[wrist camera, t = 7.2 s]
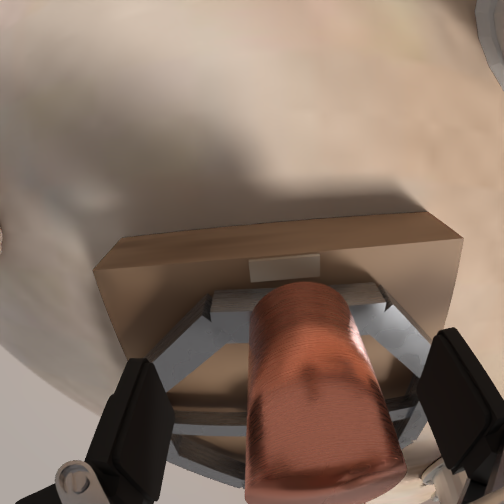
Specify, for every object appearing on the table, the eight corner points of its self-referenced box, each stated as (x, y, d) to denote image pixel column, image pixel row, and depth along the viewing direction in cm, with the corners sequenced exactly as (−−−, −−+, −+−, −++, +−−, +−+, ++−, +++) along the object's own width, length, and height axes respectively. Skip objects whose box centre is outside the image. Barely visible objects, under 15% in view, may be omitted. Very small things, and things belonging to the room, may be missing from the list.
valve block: (383, 418, 25) (394, 454, 21) (192, 435, 26) (186, 472, 22) (427, 211, 17) (465, 239, 13) (121, 237, 18) (90, 272, 14)
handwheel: (390, 452, 21) (412, 540, 13) (179, 465, 21) (164, 557, 13) (469, 248, 13) (587, 368, 5) (99, 264, 13) (-12, 416, 5)
